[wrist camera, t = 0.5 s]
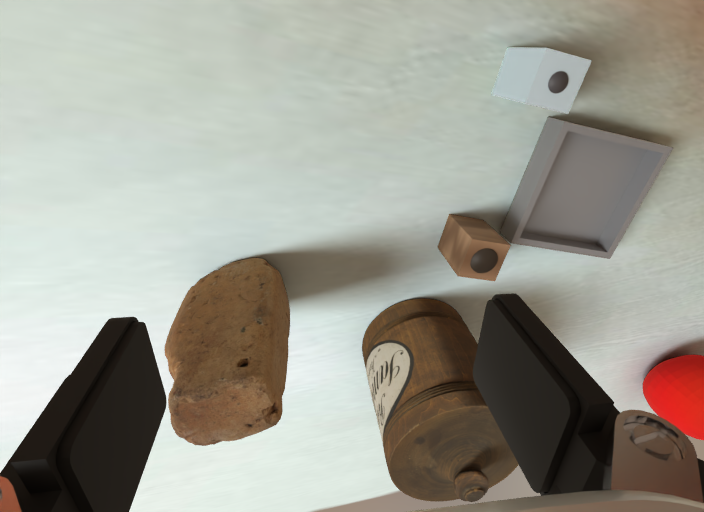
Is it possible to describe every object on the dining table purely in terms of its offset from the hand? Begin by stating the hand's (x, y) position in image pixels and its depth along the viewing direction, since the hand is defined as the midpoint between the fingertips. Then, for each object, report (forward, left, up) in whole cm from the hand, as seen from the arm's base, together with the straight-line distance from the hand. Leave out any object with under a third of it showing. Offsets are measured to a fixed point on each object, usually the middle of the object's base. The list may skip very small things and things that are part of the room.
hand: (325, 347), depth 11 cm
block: (+20, -4, -34) cm, 39 cm away
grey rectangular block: (-9, +21, -34) cm, 41 cm away
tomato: (+27, +65, -34) cm, 78 cm away
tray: (+1, +33, -34) cm, 47 cm away
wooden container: (+26, +20, -34) cm, 47 cm away
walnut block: (+9, +21, -34) cm, 40 cm away
